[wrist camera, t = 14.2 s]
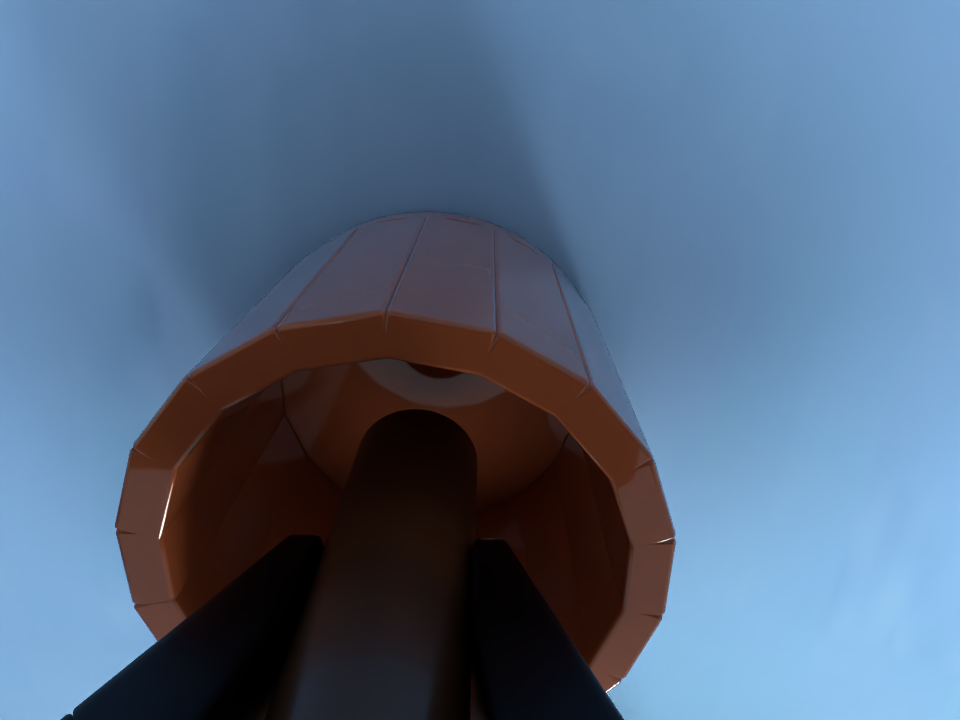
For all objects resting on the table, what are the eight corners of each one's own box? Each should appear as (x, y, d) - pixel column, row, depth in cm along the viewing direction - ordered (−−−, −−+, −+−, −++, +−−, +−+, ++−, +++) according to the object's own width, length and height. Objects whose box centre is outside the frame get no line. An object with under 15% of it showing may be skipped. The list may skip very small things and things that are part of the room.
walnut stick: (361, 508, 12) (148, 1243, 4) (354, 405, 11) (80, 1090, 4) (476, 510, 12) (455, 1249, 4) (478, 408, 11) (455, 1098, 4)
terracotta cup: (280, 519, 16) (168, 760, 10) (241, 205, 13) (58, 305, 7) (588, 525, 16) (641, 770, 10) (617, 211, 13) (713, 316, 7)
